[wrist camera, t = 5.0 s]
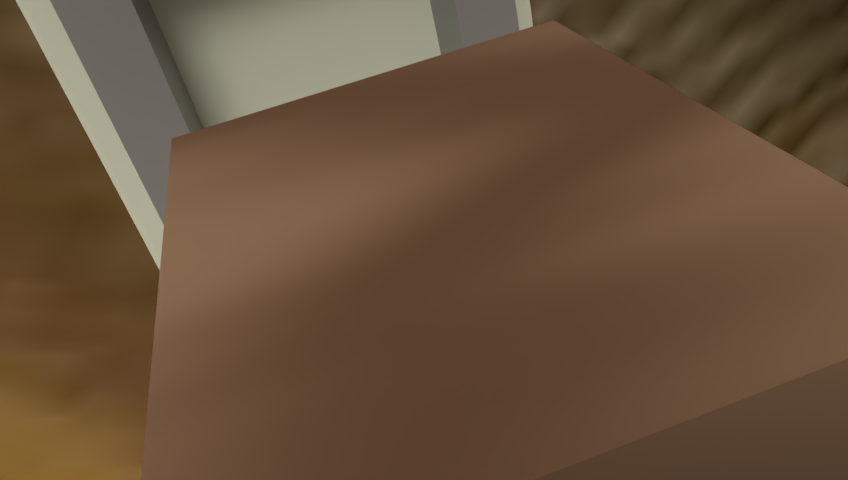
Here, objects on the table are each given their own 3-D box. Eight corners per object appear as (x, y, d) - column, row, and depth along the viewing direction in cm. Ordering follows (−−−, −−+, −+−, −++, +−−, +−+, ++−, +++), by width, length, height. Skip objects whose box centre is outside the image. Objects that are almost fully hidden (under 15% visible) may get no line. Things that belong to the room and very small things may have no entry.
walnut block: (553, 20, 7) (1028, 290, 3) (596, 412, 11) (853, 796, 6) (171, 138, 7) (125, 636, 3) (342, 508, 10) (440, 989, 6)
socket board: (487, -255, 14) (538, -269, 12) (551, 217, 20) (593, 263, 18) (-37, -117, 12) (-85, -105, 10) (201, 338, 18) (202, 402, 16)
